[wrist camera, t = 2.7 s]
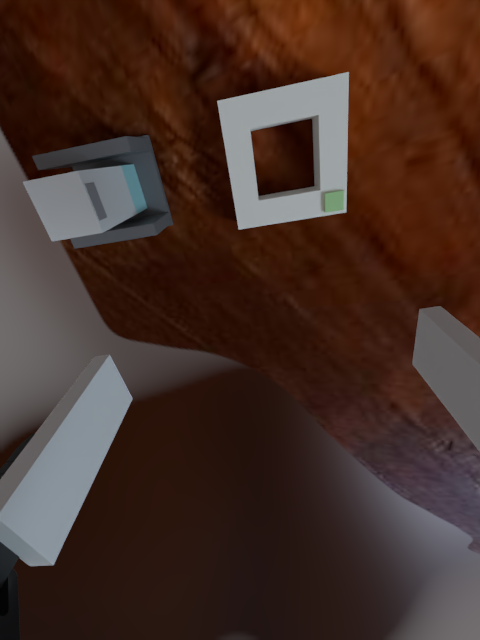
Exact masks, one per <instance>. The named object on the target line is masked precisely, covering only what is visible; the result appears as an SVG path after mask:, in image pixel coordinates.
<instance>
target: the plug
mask: <svg viewBox="0 0 480 640" xmlns="http://www.w3.org/2000/svg"><path fill="white" fill-rule="evenodd" d="M23 184H24V186H25V188H26V190H27V192H28V194H29V196H30V198H31V200H32V202H33V204H34V206H35V208H36V210H37V212H38V214H39V216H40V218H41V220H42V222H43V224H44V226H45V228H46V230H47V232H48V234H49V236H50V238H51V240H52V241H57V240H64V239H69V238H75V237H81V236H87V235H93V234H99V233H103V232H105V231H107V230H109V229H111V228H112V227H114V226H116V225H118V224H120V223H121V222H123V221H125V220H127V219H129V218H131V217H132V216H134V215H136V214H138V213H140V212H142V211H143V210H145V209H147V205H146V202H145V199H144V195H143V192H142V189H141V186H140V183H139V179H138V176H137V173H136V170H135V167H134V164H130V165H122V166H113V167H105V168H97V169H89V170H80V171H74V172H69V173H64V174H59V175H54V176H49V177H44V178H39V179H34V180H30V181H25V182H23Z"/></svg>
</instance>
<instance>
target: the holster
mask: <svg viewBox="0 0 480 640" xmlns="http://www.w3.org/2000/svg"><path fill="white" fill-rule="evenodd" d="M32 158H33V160H34V162H35V164H36V166H37V168H38V170H46V169H56V168H67V167H72V168H73V170H74V171H80V170H89V169H97V168H105V167H113V166H122V165H130V164H134V167H135V170H136V173H137V176H138V179H139V183H140V186H141V189H142V192H143V195H144V199H145V202H146V205H147V209H145V210H143V211H142V212H140V213H138V214H136V215H134V216H132V217H131V218H129V219H127V220H125V221H123V222H121V223H120V224H118V225H116V226H114V227H112V228H111V229H109V230H107V231H105V232H103V233H99V234H93V235H87V236H81V237H75V238H70V240H71V242H72V244H73V246H74V248H81V247H87V246H93V245H99V244H106V243H112V242H118V241H124V240H130V239H136V238H142V237H148V236H154V235H158V234H159V233H160V232H161V231H162V230H163V229H165V228H166V227H167V226H169V225H173V221H172V217H171V214H170V210H169V206H168V203H167V199H166V195H165V192H164V188H163V185H162V181H161V177H160V174H159V170H158V167H157V163H156V159H155V156H154V152H153V148H152V145H151V141H150V138H149V135H145V136H140V137H131V136H124V137H120V138H115V139H110V140H106V141H101V142H96V143H91V144H87V145H82V146H77V147H73V148H68V149H63V150H59V151H54V152H49V153H44V154H40V155H35V156H32Z"/></svg>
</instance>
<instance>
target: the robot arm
mask: <svg viewBox="0 0 480 640" xmlns="http://www.w3.org/2000/svg"><path fill="white" fill-rule="evenodd" d="M412 364H413V365H414V367H415V368H416V369H417V371H418V372H419V373H420V374H421V376H422V377H423V378H424V380H425V381H426V382H427V384H428V385H429V386H430V388H431V389H432V390H433V391H434V393H435V394H436V395H437V397H438V398H439V399H440V401H441V402H442V403H443V405H444V406H445V407H446V408H447V410H448V411H449V412H450V414H451V415H452V416H453V418H454V419H455V420H456V422H457V423H458V424H459V425H460V427H461V428H462V429H463V431H464V432H465V433H466V435H467V436H468V437H469V439H470V440H471V441H472V442H473V444H474V445H475V446H476V448H477V449H478V450H479V452H480V338H479V337H478V336H477V335H475V334H474V333H473V332H472V331H470V330H469V329H468V328H467V327H466V326H464V325H463V324H462V323H461V322H459V321H458V320H457V319H456V318H454V317H453V316H452V315H451V314H450V313H448V312H447V311H446V310H445V309H443V308H442V307H441V306H438V307H431V308H424V309H419V317H418V324H417V332H416V339H415V347H414V354H413V362H412ZM131 401H132V396H131V394H130V393H129V391H128V389H127V387H126V385H125V383H124V381H123V379H122V377H121V375H120V374H119V372H118V370H117V368H116V366H115V364H114V362H113V360H112V358H111V356H110V355H103V356H96V357H93V359H92V360H91V361H90V362H89V364H88V365H87V366H86V368H85V369H84V370H83V372H82V373H81V374H80V376H79V377H78V378H77V380H76V381H75V382H74V384H73V385H72V386H71V388H70V389H69V390H68V391H67V393H66V394H65V395H64V397H63V398H62V399H61V401H60V402H59V403H58V404H57V406H56V407H55V408H54V410H53V411H52V412H51V414H50V415H49V416H48V418H47V419H46V420H45V421H44V423H43V424H42V425H41V427H40V428H39V429H38V431H37V432H36V433H34V434H32V435H31V436H30V437H29V438H27V439H26V440H25V441H24V442H23V443H22V444H21V445H19V446H18V448H17V449H16V450H15V451H14V453H13V454H12V455H11V456H10V458H9V459H8V460H7V463H6V464H4V465H3V466H2V468H1V469H0V640H20V627H19V601H18V577H17V574H16V571H15V570H14V569H12V568H13V567H14V565H15V563H16V561H17V560H18V558H20V559H22V560H23V561H24V562H25V563H27V564H28V565H29V566H45V565H53V564H54V563H55V560H56V558H57V556H58V554H59V552H60V550H61V548H62V546H63V543H64V542H65V539H66V537H67V535H68V533H69V531H70V529H71V526H72V525H73V523H74V520H75V518H76V516H77V514H78V512H79V510H80V508H81V506H82V504H83V502H84V500H85V497H86V495H87V493H88V491H89V489H90V487H91V485H92V483H93V481H94V479H95V476H96V474H97V472H98V470H99V468H100V466H101V463H102V462H103V460H104V458H105V455H106V453H107V451H108V449H109V447H110V445H111V443H112V441H113V439H114V437H115V435H116V432H117V430H118V428H119V426H120V424H121V422H122V420H123V418H124V416H125V413H126V411H127V409H128V407H129V405H130V403H131Z"/></svg>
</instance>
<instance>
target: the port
mask: <svg viewBox="0 0 480 640" xmlns="http://www.w3.org/2000/svg"><path fill="white" fill-rule="evenodd" d="M348 89H349V72H347V73H342V74H337V75H333V76H328V77H324V78H319V79H315V80H310V81H306V82H301V83H296V84H292V85H287V86H283V87H278V88H274V89H269V90H265V91H260V92H255V93H251V94H246V95H242V96H237V97H233V98H228V99H224V100H219V101H217V103H218V109H219V115H220V121H221V127H222V133H223V139H224V145H225V151H226V157H227V163H228V169H229V175H230V181H231V187H232V193H233V199H234V205H235V211H236V217H237V223H238V229H246V228H252V227H258V226H264V225H270V224H277V223H283V222H289V221H295V220H301V219H308V218H314V217H320V216H326V215H332V214H339V213H345V212H346V201H347V145H348ZM307 119H312V127H313V156H314V186H313V187H308V188H302V189H296V190H290V191H285V192H279V193H273V194H268V195H262V196H258V188H257V180H256V172H255V165H254V157H253V149H252V141H251V133H250V131H253V130H258V129H263V128H268V127H273V126H278V125H283V124H288V123H293V122H298V121H302V120H307Z"/></svg>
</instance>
